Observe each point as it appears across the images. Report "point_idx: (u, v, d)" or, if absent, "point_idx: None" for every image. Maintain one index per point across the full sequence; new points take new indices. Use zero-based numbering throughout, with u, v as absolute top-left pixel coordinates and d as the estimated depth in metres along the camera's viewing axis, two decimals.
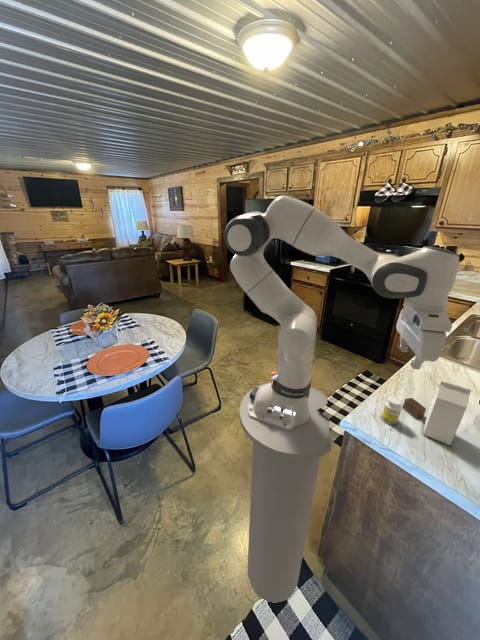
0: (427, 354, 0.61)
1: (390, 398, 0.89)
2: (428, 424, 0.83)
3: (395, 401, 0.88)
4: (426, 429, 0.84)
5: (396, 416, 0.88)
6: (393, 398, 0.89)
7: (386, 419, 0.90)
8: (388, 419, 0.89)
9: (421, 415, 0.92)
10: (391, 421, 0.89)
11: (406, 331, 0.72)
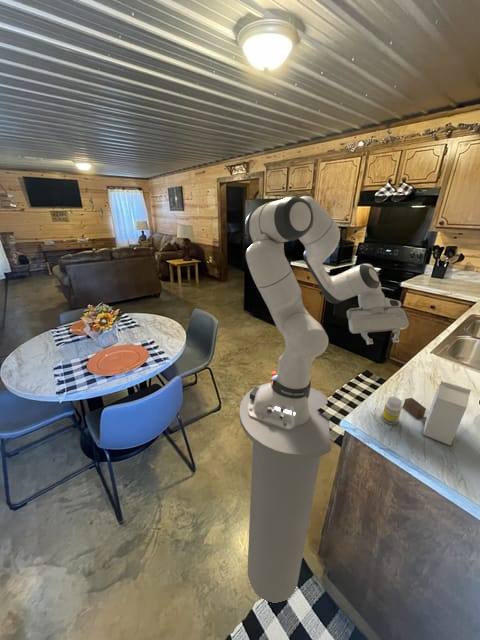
0: None
1: (390, 398, 0.89)
2: (428, 424, 0.83)
3: (395, 401, 0.88)
4: (426, 429, 0.84)
5: (396, 416, 0.88)
6: (393, 398, 0.89)
7: (386, 419, 0.90)
8: (388, 419, 0.89)
9: (421, 415, 0.92)
10: (391, 421, 0.89)
11: (375, 322, 0.91)
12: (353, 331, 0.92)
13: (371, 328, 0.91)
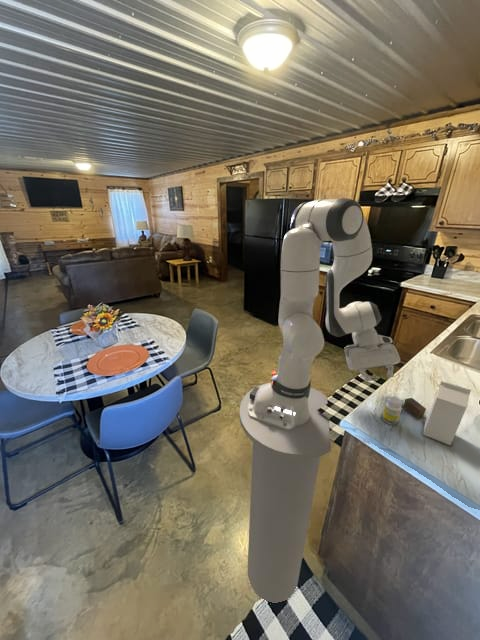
0: None
1: (390, 398, 0.89)
2: (428, 424, 0.83)
3: (395, 401, 0.88)
4: (426, 429, 0.84)
5: (396, 416, 0.88)
6: (393, 398, 0.89)
7: (386, 419, 0.90)
8: (388, 419, 0.89)
9: (421, 415, 0.92)
10: (391, 421, 0.89)
11: (371, 358, 0.95)
12: (352, 368, 0.94)
13: (369, 365, 0.94)
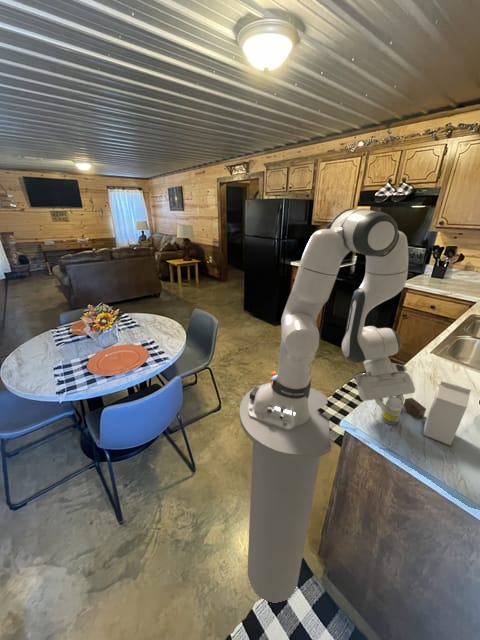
0: None
1: (390, 398, 0.89)
2: (428, 424, 0.83)
3: (395, 401, 0.88)
4: (426, 429, 0.84)
5: (396, 416, 0.88)
6: (393, 398, 0.89)
7: (386, 419, 0.90)
8: (388, 419, 0.89)
9: (421, 415, 0.92)
10: (391, 421, 0.89)
11: (385, 389, 0.90)
12: (364, 399, 0.88)
13: (382, 396, 0.88)
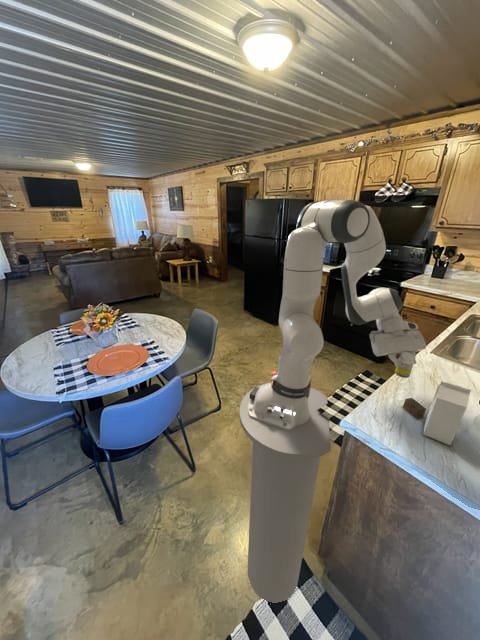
0: None
1: (403, 353, 0.93)
2: (428, 424, 0.83)
3: (408, 355, 0.92)
4: (426, 429, 0.84)
5: (409, 369, 0.92)
6: (406, 353, 0.93)
7: (399, 373, 0.94)
8: (401, 373, 0.93)
9: (421, 415, 0.92)
10: (404, 374, 0.93)
11: (397, 344, 0.94)
12: (378, 354, 0.93)
13: (395, 351, 0.93)
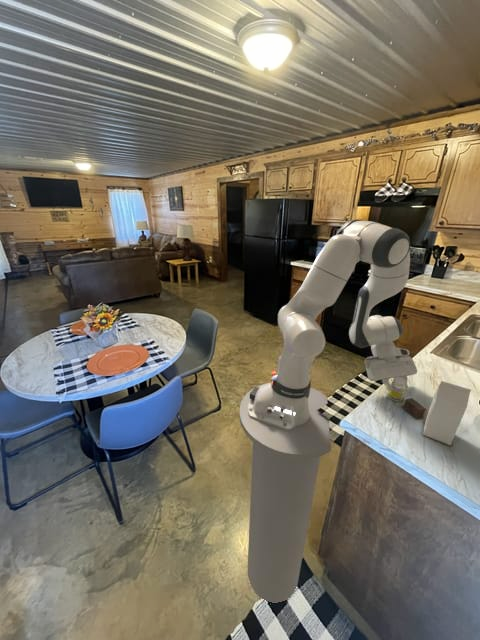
0: None
1: (395, 378, 1.00)
2: (428, 424, 0.83)
3: (400, 380, 0.99)
4: (426, 429, 0.84)
5: (401, 393, 0.99)
6: (398, 378, 1.00)
7: (391, 396, 1.01)
8: (393, 396, 1.00)
9: (421, 415, 0.92)
10: (397, 398, 1.00)
11: (390, 370, 1.01)
12: (372, 379, 1.00)
13: (388, 376, 1.00)
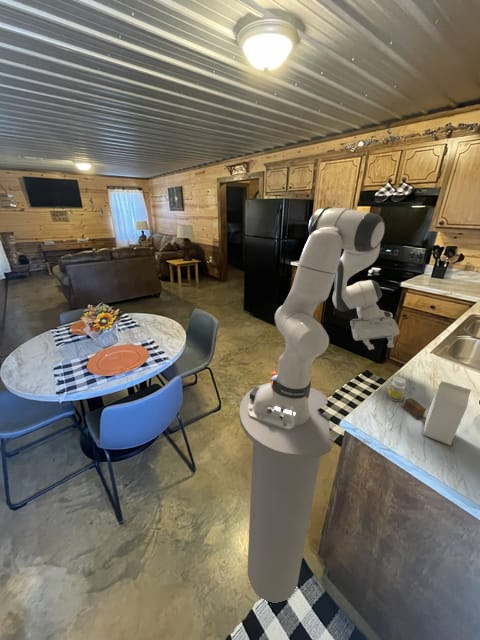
0: None
1: (395, 378, 1.00)
2: (428, 424, 0.83)
3: (400, 380, 0.99)
4: (426, 429, 0.84)
5: (401, 393, 0.99)
6: (398, 378, 1.00)
7: (391, 396, 1.01)
8: (393, 396, 1.00)
9: (421, 415, 0.92)
10: (397, 398, 1.00)
11: (374, 330, 1.08)
12: (357, 338, 1.07)
13: (371, 335, 1.07)
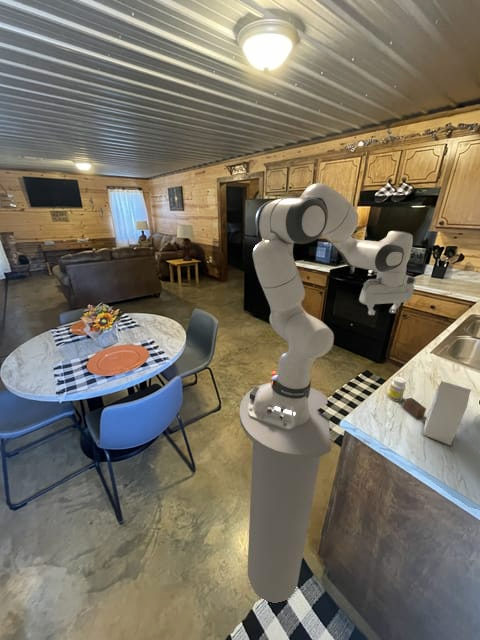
0: None
1: (395, 378, 1.00)
2: (428, 424, 0.83)
3: (400, 380, 0.99)
4: (426, 429, 0.84)
5: (401, 393, 0.99)
6: (398, 378, 1.00)
7: (391, 396, 1.01)
8: (393, 396, 1.00)
9: (421, 415, 0.92)
10: (397, 398, 1.00)
11: (385, 297, 0.95)
12: None
13: (379, 302, 0.96)
